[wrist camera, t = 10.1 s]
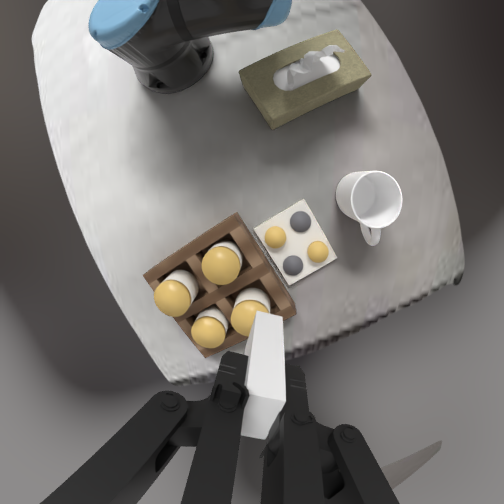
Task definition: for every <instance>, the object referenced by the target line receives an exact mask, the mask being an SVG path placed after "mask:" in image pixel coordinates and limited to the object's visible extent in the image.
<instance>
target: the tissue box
mask: <svg viewBox="0 0 504 504" xmlns="http://www.w3.org/2000/svg"><path fill="white" fill-rule="evenodd" d="M239 74H240V78H241V81H242V84H243V86H244V88H245V90H246V91H247V93H248V94H249V96H250V97H251V99H252V100H253V102H254V103H255V105H256V106H257V108H258V109H259V111H260V112H261V114H262V115H263V117H264V118H265V120H266V122H267V123H268V125H269V126H270V128H271V129H272V130H274V129H276V128H278V127H280V126H282V125H283V124H285V123H287V122H289V121H291V120H293V119H295V118H297V117H299V116H301V115H303V114H305V113H307V112H309V111H311V110H313V109H315V108H317V107H319V106H322V105H324V104H326V103H328V102H330V101H332V100H335V99H337V98H339V97H341V96H343V95H346V94H348V93H350V92H353V91H355V90H357V89H359V88H360V87H361V86H362V85H363V84H364V83H365V82H366V81H367V80H368V79H369V78H370V77H371V73H370V71H369V70H368V68H367V67H366V66H365V64H364V63H363V61H362V60H361V59H360V57H359V56H358V54H357V53H356V52H355V50H354V49H353V48H352V47H351V45H350V44H349V43H348V41H347V40H346V39H345V38H344V36H343V35H342V34H341V33H340V31H339V30H334V31H331V32H328V33H325V34H322V35H319V36H316V37H313V38H311V39H308V40H305V41H303V42H300V43H298V44H295V45H293V46H290V47H288V48H286V49H283V50H281V51H279V52H276V53H274V54H272V55H270V56H268V57H266V58H263V59H261V60H259V61H257V62H255V63H253V64H251V65H249V66H247V67H245V68H243V69H241V70H240V71H239Z"/></svg>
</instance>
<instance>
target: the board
mask: <svg viewBox="0 0 504 504" xmlns="http://www.w3.org/2000/svg"><path fill="white" fill-rule="evenodd" d="M225 239H226V240H232V241H234V242H236V243H237V245H238V246H239V248H240V249H241V251H242V252H243V254H244V259H243V263H242V266H241V268H240V271H239V274H238V276H237V278H236V279H235V280H234V281H233V282H231V283H229V284H226V285H218V284H214V283H212V282H211V281H209V280H208V279H207V278H206V277H205V275H204V273H203V271H202V260H203V257H204V256H205V254H206V253H207V252H208V251H209V250H210V249H211V247H212V246H213V245H214V244H215V243H216V242H218V241H220V240H225ZM176 270H185V271H188V272H190V273H191V274H193V275H194V277H195V278H196V279H197V281H198V285H199V291H198V294H197V296H196V297H195V299H194V300H193V302H192V303H191V305H190V307H189V308H188V310H187V311H186V312H185V313H184V314H183V315H181V316H178V317H173V318H174V319H175V321H176V322H177V323H178V325H179V326H180V327H181V328H182V330H183V331H184V332H185V334H186V335H187V336H188V337H189V339H190V340H191V341H192V342H193V344H194V345H195V346H196V347H197V348H198V350H199V351H200V352H201V353H202V354H203V356H204V357H205V358H206V357H209V356H211V355H213V354H215V353H218V352H220V351H222V350H224V349H226V348H229V347H231V346H233V345H235V344H237V343H239V342H241V341H244V340H246V339H248V336H244V335H241V334H240V333H238V332H237V331H236V330H235V329H234V328H233V326H232V324H231V314H232V311H233V308H234V305H235V301H236V298H237V296H238V294H239V293H240V292H241V291H243V290H244V289H247V288H258V289H261V290H262V291H264V292H265V293H266V294H267V295H268V297H269V299H270V314H273V315H277V316H281V317H283V321H284V320H286V319H288V318H290V317H292V316H294V315H296V308H295V303H294V301H293V299H292V298H291V296H290V295H289V293H288V291H287V290H286V288H285V287H284V285H283V284H282V282H281V280H280V279H279V277H278V276H277V274H276V272H275V271H274V269H273V268H272V266H271V265H270V263H269V261H268V260H267V258H266V257H265V255H264V254H263V252H262V250H261V249H260V247H259V246H258V244H257V243H256V241H255V239H254V238H253V236H252V235H251V233H250V232H249V230H248V228H247V227H246V225H245V224H244V222H243V221H242V219H241V217H240V216H239V214H238V213H237V212H236V213H234V214H233V215H231V216H230V217H228V218H227V219H225V220H223V221H222V222H220V223H219V224H217V225H216V226H214V227H213V228H211V229H210V230H208V231H206V232H205V233H203V234H202V235H200V236H199V237H197V238H196V239H194V240H193V241H191V242H190V243H188V244H187V245H185V246H184V247H182V248H181V249H179V250H178V251H176V252H175V253H173V254H172V255H170V256H169V257H167V258H166V259H164V260H163V261H162V262H160V263H159V264H157V265H156V266H154V267H153V268H152V269H150V270H149V271H148V272H146V273H145V274H144V275H143V276H144V278H145V279H146V281H147V282H148V284H149V285H150V287H151V288H152V289H153V291H154V292H155V290H156V288H157V287H158V286H159V285H160V284H161V283H162V282H163V281H164V280H165V279H166V278H167V277H168V276H169V275H170V274H171V273H172V272H174V271H176ZM212 304H216V305H217V306H218V307H219V308H220V310H221V311H222V312H223V314H224V315H225V317H226V318H227V319H228V321H229V325H228V329H227V332H226V335H225V339H224V341H223V343H222V344H221V345H220V346H218V347H216V348H205V347H202V346H200V345H199V344H197V343H196V342H195V341H194V339H193V337H192V334H191V329H192V326H193V324H194V322H195V320H196V318H197V317H198V315H199V313H200V311H201V310H203V309H205V308H207V307H209V306H210V305H212Z"/></svg>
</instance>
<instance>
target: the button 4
mask: <svg viewBox="0 0 504 504" xmlns="http://www.w3.org/2000/svg"><path fill="white" fill-rule="evenodd" d="M256 311H261V312H265V313H269V314H270V299H269V297H268V295H267V294H266V293H265V292H264V291H262V290H261V289H258V288H247V289H244V290H243V291H241V292H240V293H239V294H238V296H237V298H236V301H235V305H234V308H233V311H232V314H231V324H232V326H233V328H234V329H235V330H236V331H237V332H238V333H240V334H241V335H244V336H248V337H249V334H250V331H251V328H252V324H253V321H254V318H255V314H256Z"/></svg>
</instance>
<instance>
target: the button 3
mask: <svg viewBox="0 0 504 504" xmlns="http://www.w3.org/2000/svg"><path fill="white" fill-rule="evenodd" d="M243 259H244V254H243V252H242V251H241V249H240V248H239V246H238V245H237V243H236V242H234V241H232V240H226V239H225V240H220V241H218V242H216V243H215V244H214V245H213V246H212V247H211V249H210V250H209V251H208V252H207V253H206V254H205V256H204V257H203V260H202V271H203V273H204V275H205V277H206V278H207V279H208V280H209V281H211V282H212V283H214V284H218V285H226V284H229V283H231V282H233V281H234V280H235V279H236V278H237V276H238V274H239V271H240V268H241V266H242V263H243Z"/></svg>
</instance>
